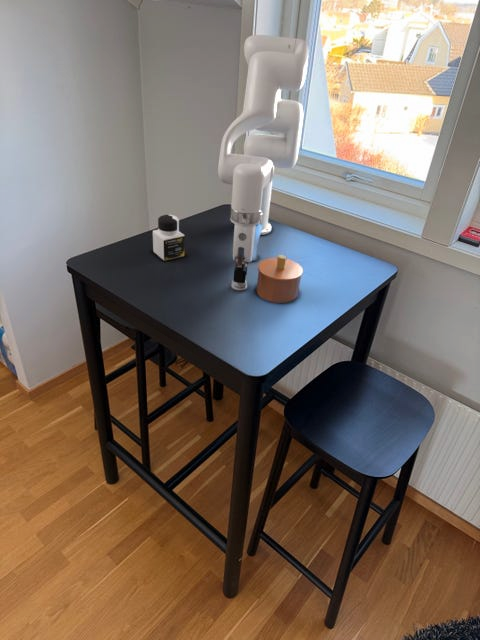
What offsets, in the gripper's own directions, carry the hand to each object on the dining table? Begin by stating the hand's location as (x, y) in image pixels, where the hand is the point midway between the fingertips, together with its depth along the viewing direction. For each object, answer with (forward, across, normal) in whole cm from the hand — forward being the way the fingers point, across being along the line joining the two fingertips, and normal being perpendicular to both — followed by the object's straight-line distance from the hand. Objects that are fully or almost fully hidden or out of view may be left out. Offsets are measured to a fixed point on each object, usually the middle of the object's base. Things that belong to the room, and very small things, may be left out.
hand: (240, 277), depth 129 cm
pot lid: (-4, 0, -11) cm, 11 cm away
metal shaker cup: (+3, +19, 0) cm, 19 cm away
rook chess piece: (+3, 0, 0) cm, 3 cm away
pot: (+3, 0, -11) cm, 11 cm away
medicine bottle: (+3, +15, +23) cm, 28 cm away
